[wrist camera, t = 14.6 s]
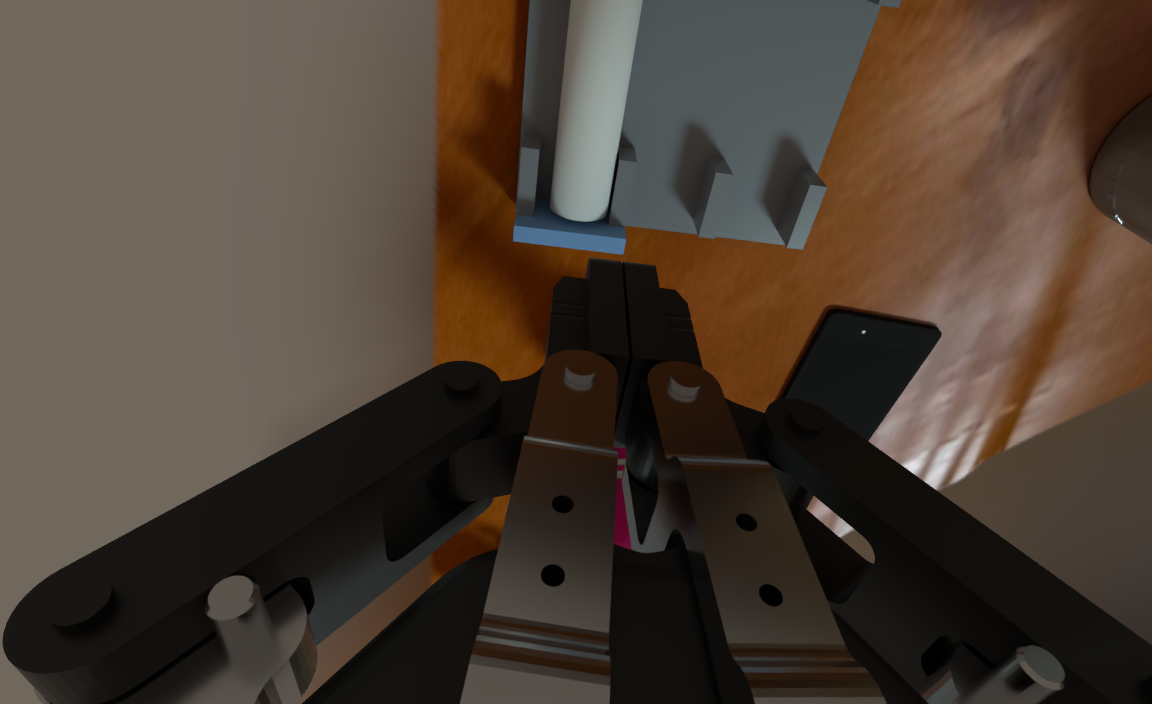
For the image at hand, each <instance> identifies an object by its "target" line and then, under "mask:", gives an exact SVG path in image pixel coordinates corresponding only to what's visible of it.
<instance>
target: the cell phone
mask: <svg viewBox="0 0 1152 704" xmlns="http://www.w3.org/2000/svg"><path fill="white" fill-rule="evenodd" d="M941 334H942V333H941V332H940V331H939V329H938V328H936V327H934V326H930V325H925V324H920V323H914V322H909V321H903V320H898V319H892V318H887V317H881V316H876V315H870V314H865V313H859V312H854V311H848V310H843V309H832V310H830V311H828V312H827V314H826V315H825V317H824V319H823V321H822V322H821V324H820V326H819V328H818V330H817V332H816V334H815V335H814V337H813V339H812V341H811V343H810V345H809V346H808V348H807V350H806V352H805V354H804V356H803V357H802V359H801V361H800V363H799V365H798V367H797V369H796V370H795V372H794V374H793V376H792V378H791V380H790V381H789V383H788V385H787V387H786V389H785V391H784V393H783V394H782V396H781V398H780V399H788V398H790V399H798V400H803V401H806V402H809V403H812V404H814V405H816V406H818V407H820V408H822V409H823V410H825V411H827V412H828V413H829V414H831V415H832V416H834V417H835V418H836V419H838V420H839V421H840V422H842V423H843V424H845V425H846V426H847V427H849V428H850V429H852V430H853V431H854V432H856V433H857V434H859V435H860V436H861V437H863V438H864V439H866V440H867V441H869V439H870V438H871V436H872V435H873V433H874V432H875V431H876V429H877V428H878V426H879V425H880V423H881V422H882V421H883V419H884V418H885V416H886V415H887V413H888V412H889V411H890V409H891V408H892V406H893V405H894V403H895V402H896V401H897V399H898V398H899V396H900V395H901V394H902V392H903V391H904V389H905V388H906V386H907V385H908V384H909V382H910V381H911V379H912V378H913V376H914V375H915V374H916V372H917V371H918V369H919V368H920V366H921V365H922V364H923V362H924V361H925V359H926V358H927V357H928V355H929V354H930V352H931V351H932V349H933V348H934V346H935V345H936V343H937V342H938V340H939V339H940V337H941Z"/></svg>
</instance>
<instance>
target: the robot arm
mask: <svg viewBox="0 0 1152 704" xmlns="http://www.w3.org/2000/svg"><path fill="white" fill-rule="evenodd" d="M1090 191H1091V198H1092V200H1093V202H1094V204H1095V205H1096V207H1097V208H1098V209H1099V210H1100V211H1101V212H1102V213H1103V214H1104V215H1105V216H1107V217H1108V218H1110V219H1112V220H1113V221H1115V222H1117V223H1118V224H1120V225H1121V226H1123V227H1125V228H1126V229H1128V230H1130V231H1131V232H1133V233H1134V234H1136V235H1138V236H1139V237H1141V238H1143V239H1144V240H1146V241H1148V242H1149V243H1150V244H1152V96H1151V97H1149V98H1148V99H1147V100H1145V101H1144V102H1143V103H1141V104H1140V105H1139V106H1137V107H1136V108H1135V109H1134V110H1133V111H1132V112H1131V113H1130V114H1129V115H1127V116H1126V117H1125V118H1124V119H1123V120H1122V121H1121V122H1120V123H1119V125H1118V126H1117V127H1116V128H1115V129H1114V131H1113V132H1112V133H1111V134H1110V136H1109V137H1108V138H1107V140H1106V141H1105V143H1104V145H1103V146H1102V148H1101V150H1100V151H1099V153H1098V155H1097V157H1096V160H1095V163H1094V165H1093V168H1092V171H1091V179H1090ZM690 319H691V316H690V312H689V308H688V304H687V302H686V301H685V300H684V299H683V298H682V297H681V296H680V294H679V293H678V292H677V291H676V290H673V289H665V288H659V282H658V277H657V271H656V267H655V266H654V265H646V264H638V263H630V262H623V263H621V261H613V260H605V259H597V258H589V260H588V265H587V271H586V277H585V279H582V278H574V277H565V276H564V277H563V278H562V279H561V280H560V281H559V282H558V283H557V284H556V285H555V286H554V288H553V296H552V304H551V312H550V320H549V328H548V337H547V345H546V356H545V363H544V365H543V366H542V367H541V368H540V369H539V370H538V371H537V372H535V373H534V374H532V375H530V376H528V377H525V378H521V379H517V380H510V381H502V382H501V380H500V378H499V377H498V375H497V374H496V373H495V372H494V371H493V370H491V369H490V368H488V367H486V366H484V365H482V364H479V363H475V362H470V361H452V362H447V363H443V364H440V365H438V366H436V367H434V368H432V369H430V370H428V371H426V372H425V373H423V374H421V375H419V376H417V377H415V378H413V379H412V380H410V381H408V382H406V383H404V384H402V385H400V386H399V387H397V388H395V389H393V390H391V391H389V392H387V393H386V394H384V395H382V396H380V397H378V398H376V399H375V400H373V401H371V402H369V403H367V404H365V405H363V406H362V407H360V408H358V409H356V410H354V411H352V412H350V413H349V414H347V415H345V416H343V417H341V418H339V419H338V420H336V421H334V422H332V423H330V424H328V425H326V426H325V427H323V428H321V429H319V430H317V431H315V432H314V433H312V434H310V435H308V436H306V437H304V438H302V439H301V440H299V441H297V442H295V443H293V444H291V445H289V446H288V447H286V448H284V449H282V450H280V451H278V452H277V453H275V454H273V455H271V456H269V457H267V458H265V459H264V460H262V461H260V462H258V463H256V464H254V465H252V466H251V467H249V468H247V469H245V470H243V471H241V472H239V473H238V474H236V475H234V476H232V477H230V478H229V479H227V480H225V481H223V482H222V483H220V484H217V485H215V486H214V487H212V488H210V489H208V490H206V491H204V492H203V493H201V494H199V495H197V496H195V497H193V498H191V499H190V500H188V501H186V502H184V503H182V504H181V505H178V506H177V507H175V508H173V509H171V510H169V511H167V512H166V513H164V514H162V515H160V516H158V517H156V518H154V519H153V520H151V521H149V522H147V523H145V524H143V525H141V526H140V527H138V528H136V529H134V530H132V531H130V532H129V533H127V534H125V535H123V536H121V537H119V538H118V539H116V540H114V541H112V542H110V543H108V544H107V545H104V546H103V547H101V548H99V549H97V550H95V551H93V552H92V553H90V554H88V555H86V556H84V557H82V558H80V559H79V560H77V561H75V562H73V563H71V564H69V565H68V566H66V567H64V568H62V569H60V570H58V571H57V572H55V573H54V574H52V575H50V576H49V577H47V578H46V579H44V580H43V581H42V582H40V583H39V584H38V585H37V586H36V587H34V588H33V589H32V590H31V591H30V592H29V593H28V594H27V595H26V596H25V597H24V598H23V599H22V600H21V601H20V602H19V604H18V605H17V606H16V608H15V609H14V611H13V612H12V614H11V616H10V618H9V620H8V622H7V624H6V627H5V630H4V633H3V648H4V652H5V654H6V656H7V658H8V660H9V661H10V662H11V663H12V664H13V665H14V666H15V667H16V668H17V669H18V670H19V671H20V672H21V674H23V676H24V677H25V678H26V679H27V680H28V681H29V682H30V683H31V684H32V685H33V686H34V691H35V693H36V695H37V697H38V699H39V700H40V701H41V702H42V703H43V704H295V703H296V702H297V701H298V700H299V699H300V698H301V697H302V695H303V694H304V693H305V691H306V690H307V689H308V687H309V685H310V683H311V681H312V679H313V677H314V673H315V671H316V666H317V648H316V646H317V645H318V644H319V643H320V642H322V641H323V640H324V639H326V638H327V637H328V636H329V635H331V634H332V633H333V632H334V631H335V630H337V629H338V628H339V627H340V626H342V625H343V624H344V623H345V622H346V621H348V620H349V619H350V618H352V617H353V616H354V615H355V614H357V613H358V612H359V611H360V610H362V609H363V608H364V607H365V606H367V605H368V604H369V603H370V602H372V601H373V600H374V599H375V598H377V597H378V596H379V595H380V594H382V593H383V592H384V591H385V590H387V589H388V588H389V587H390V586H392V585H393V584H394V583H395V582H397V581H398V580H399V579H400V578H402V577H403V576H404V575H405V574H406V573H408V572H409V571H410V570H411V569H413V568H414V567H415V566H417V565H418V564H419V563H420V562H421V561H423V560H424V559H425V558H427V557H428V556H429V555H430V554H432V553H433V552H434V551H435V550H437V549H438V548H439V547H440V546H442V545H443V544H444V543H445V542H447V541H448V540H449V539H450V538H452V537H453V536H454V535H455V534H456V533H458V532H459V531H460V530H461V529H463V528H464V527H465V526H466V525H468V524H469V523H470V522H471V521H473V520H474V519H475V518H476V517H478V516H479V515H480V514H481V513H483V512H484V511H485V510H486V509H487V508H488V507H489V506H490V504H491V503H492V501H493V499H494V497H498V496H503V495H509V494H511V496H510V500H509V504H508V509H507V513H506V517H505V522H504V526H503V530H502V535H501V539H500V543H499V548H498V549H496V550H492V551H489V552H486V553H483V554H481V555H478V556H476V557H473V558H471V559H469V560H467V561H466V562H464V563H462V564H460V565H458V566H456V567H455V568H454V569H452V570H451V571H449V572H448V573H446V574H445V575H444V576H442V577H441V578H440V579H439V580H438V581H436V582H435V583H434V584H433V585H432V586H431V587H430V588H429V589H428V590H427V591H425V592H424V593H423V594H422V595H421V596H420V597H419V598H418V599H417V600H416V601H414V602H413V603H412V604H411V605H410V606H409V607H408V608H407V609H406V610H404V611H403V612H402V613H401V614H400V615H399V616H398V617H397V618H396V619H395V620H394V621H393V622H391V623H390V624H389V625H388V626H387V627H386V628H385V629H384V630H382V631H381V632H380V633H379V634H378V635H377V636H376V637H375V638H374V639H373V640H371V641H370V642H369V643H368V644H367V645H366V646H365V647H364V648H363V649H362V650H360V651H359V652H358V653H357V654H356V655H355V656H354V657H353V658H352V659H351V660H349V661H348V662H347V663H346V664H345V665H344V666H343V667H342V668H341V669H340V670H338V671H337V672H336V673H335V674H334V675H333V676H332V677H331V678H330V679H328V681H326V682H325V683H324V684H323V685H322V686H321V687H320V688H319V689H318V690H316V691H315V692H314V693H313V694H312V695H311V696H310V697H309V698H308V699H306V700H305V702H303V703H302V704H1152V645H1151V644H1149V643H1148V642H1147V641H1145V640H1144V639H1142V638H1141V637H1140V636H1138V635H1137V634H1135V633H1134V632H1133V631H1131V630H1130V629H1128V628H1127V627H1126V626H1124V625H1123V624H1121V623H1120V622H1119V621H1117V620H1116V619H1115V618H1113V617H1112V616H1110V615H1109V614H1108V613H1106V612H1105V611H1103V610H1102V609H1100V608H1099V607H1098V606H1096V605H1095V604H1094V603H1092V602H1091V601H1089V600H1088V599H1086V598H1085V597H1084V596H1083V595H1081V594H1080V593H1078V592H1077V591H1076V590H1074V589H1073V588H1071V587H1070V586H1068V585H1067V584H1066V583H1064V582H1063V581H1062V580H1060V579H1059V578H1057V577H1056V576H1055V575H1053V574H1052V573H1051V572H1049V571H1048V570H1046V569H1045V568H1044V567H1042V566H1041V565H1039V564H1038V563H1037V562H1035V561H1034V560H1032V559H1031V558H1030V557H1028V556H1027V555H1025V554H1024V553H1022V552H1021V551H1020V550H1019V549H1017V548H1016V547H1014V546H1013V545H1012V544H1010V543H1009V542H1007V541H1006V540H1004V539H1003V538H1002V537H1000V536H999V535H998V534H996V533H995V532H993V531H992V530H991V529H989V528H988V527H986V526H985V525H984V524H982V523H981V522H979V521H978V520H977V519H975V518H974V517H972V516H971V515H970V514H968V513H967V512H965V511H964V510H963V509H961V508H960V507H958V506H957V505H956V504H954V503H953V502H952V501H950V500H949V499H948V498H946V497H945V496H943V495H942V494H941V493H939V492H938V491H936V490H935V489H934V488H932V487H931V486H929V485H928V484H927V483H925V482H924V481H923V480H921V479H920V478H918V477H917V476H916V475H914V474H913V473H911V472H910V471H909V470H907V469H906V468H904V467H903V466H902V465H900V464H899V463H897V462H896V461H895V460H893V459H892V458H891V457H889V456H888V455H886V454H885V453H884V452H882V451H881V450H879V449H878V448H877V447H875V446H874V445H872V444H871V443H870V442H868V441H867V440H866V439H864V438H863V437H861V436H860V435H859V434H857V433H856V432H854V431H853V430H852V429H850V428H849V427H847V426H846V425H845V424H843V423H842V422H840V421H839V420H838V419H836V418H835V417H834V416H832V415H831V414H829V413H828V412H827V411H825V410H823V409H822V408H820V407H818V406H816V405H814V404H812V403H809V402H806V401H803V400H798V399H790V398H788V399H780V400H776V401H774V402H772V403H771V404H770V405H769V406H768V407H767V409H766V412H765V413H762V412H760V411H757V410H754V409H751V408H748V407H745V406H742V405H739V404H737V403H734V402H732V401H730V400H728V399H726V398H725V397H724V394H723V391H722V389H721V386H720V384H719V382H718V381H717V380H716V378H715V377H714V376H713V375H712V374H710V373H709V372H708V371H706V370H704V369H703V367H702V363H701V358H700V354H699V350H698V346H697V342H696V337H695V333H694V332H693V325H692V321H691V320H690ZM614 447H618V448H626V461H625V465H624V469H623V473H622V486H623V493H624V500H625V506H626V513H627V520H628V527H629V534H630V540H631V547H632V550H631V549H628V548H625V547H622V546H619V545H616V544H614V526H615V507H616V487H617V468H618V451H617V450H615V449H614ZM813 496H815V497H816V498H818V499H819V500H820V501H821V502H822V503H824V504H825V505H826V506H827V507H828V508H830V509H831V510H832V511H833V512H834V513H836V514H837V515H838V516H839V517H840V518H842V519H843V520H844V521H845V522H846V523H848V524H849V525H850V526H851V527H853V528H854V529H855V530H856V531H857V532H859V533H860V534H861V535H862V536H863V537H864V538H865V539H866V540H867V541H868V542H869V544H870V545H871V547H872V549H873V551H874V554H875V562H874V564H873V563H870V562H868V561H867V560H865V559H864V558H863V557H862V556H860V555H859V554H858V553H857V552H856V551H855V550H853V549H852V548H851V547H850V546H848V544H846V543H845V542H844V541H843V540H842V539H841V538H839V537H838V536H837V535H836V534H835V533H834V532H832V531H831V530H830V529H829V528H828V527H826V526H825V525H824V524H823V523H822V522H821V521H819V520H818V519H817V518H816V517H815V516H814V515H812V514H811V513H810V512H809V511H808V510H807V509H806V508H807V507H808V505H809V503H810V501H811V500H812V498H813Z"/></svg>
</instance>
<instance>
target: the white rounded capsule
mask: <svg viewBox="0 0 1152 704" xmlns="http://www.w3.org/2000/svg"><path fill="white" fill-rule="evenodd" d="M642 2H643V0H571V3H570V13H569V23H568V32H567V42H566V52H565V61H564V71H563V81H562V91H561V100H560V110H559V120H558V130H557V139H556V149H555V159H554V168H553V178H552V188H551V198H550V208H551V210H552V211H553V212H554V213H555V214H557V215H559V216H561V217H563V218H566V219H570V220H575V221H584V222H589V221H597V220H600V219H603V218H604V217H605V216H606V215H607V212H608V206H609V200H610V194H611V188H612V182H613V176H614V170H615V164H616V158H617V152H618V146H619V140H620V134H621V128H622V122H623V116H624V110H625V104H626V98H627V92H628V86H629V80H630V74H631V68H632V62H633V56H634V50H635V44H636V38H637V32H638V26H639V20H640V14H641V8H642Z"/></svg>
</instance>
